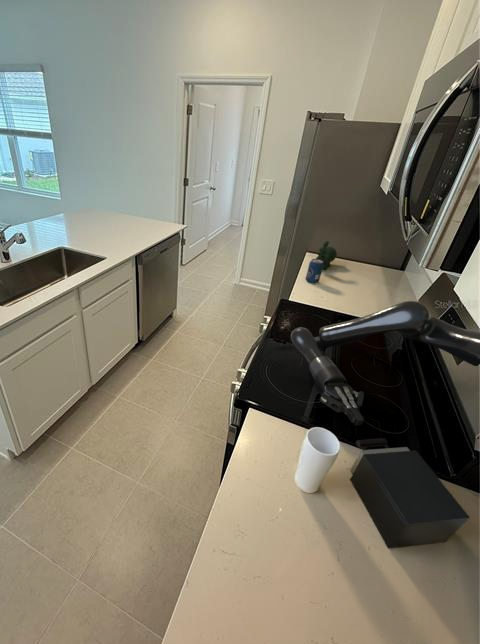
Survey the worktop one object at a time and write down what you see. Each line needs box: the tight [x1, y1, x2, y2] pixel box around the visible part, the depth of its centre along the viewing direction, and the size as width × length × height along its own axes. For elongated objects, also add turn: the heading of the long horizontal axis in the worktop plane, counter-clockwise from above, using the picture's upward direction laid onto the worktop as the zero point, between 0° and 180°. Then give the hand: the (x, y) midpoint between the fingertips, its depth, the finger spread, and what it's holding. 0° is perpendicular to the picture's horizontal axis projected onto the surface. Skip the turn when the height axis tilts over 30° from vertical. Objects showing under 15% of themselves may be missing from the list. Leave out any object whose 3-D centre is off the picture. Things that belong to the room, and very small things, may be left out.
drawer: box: [349, 437, 411, 476], centre depth 67 cm, size 16×11×8 cm
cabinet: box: [349, 449, 470, 550], centre depth 64 cm, size 14×13×10 cm
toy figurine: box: [315, 240, 338, 271], centre depth 181 cm, size 9×19×25 cm
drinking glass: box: [294, 426, 341, 494], centre depth 67 cm, size 7×7×15 cm
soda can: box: [305, 258, 323, 285], centre depth 163 cm, size 7×7×12 cm
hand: (359, 423), depth 77 cm, fingers closed
